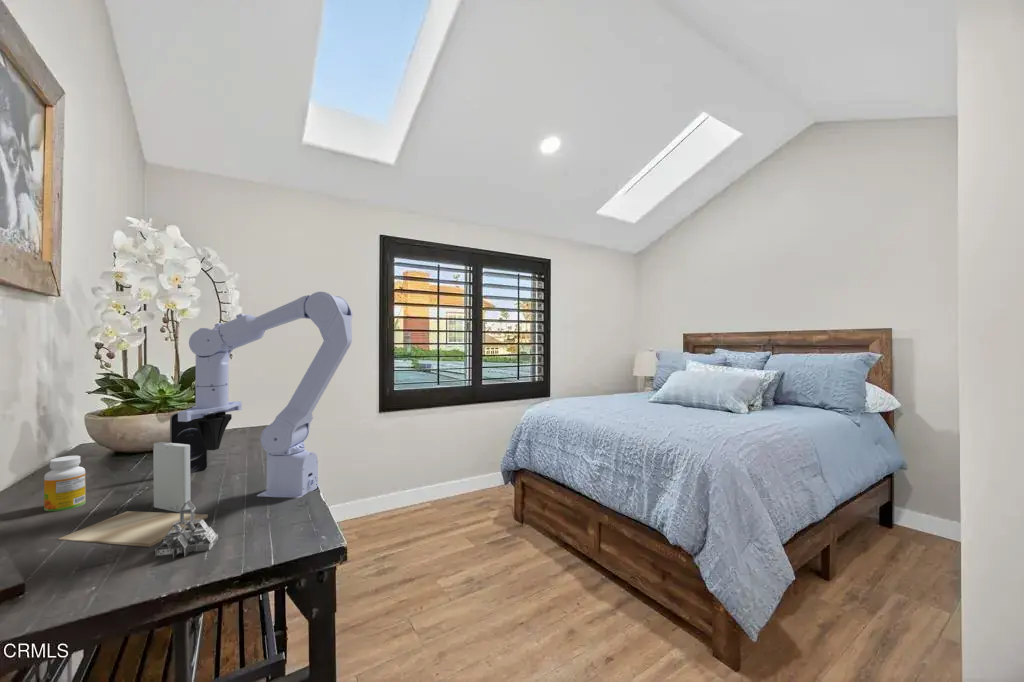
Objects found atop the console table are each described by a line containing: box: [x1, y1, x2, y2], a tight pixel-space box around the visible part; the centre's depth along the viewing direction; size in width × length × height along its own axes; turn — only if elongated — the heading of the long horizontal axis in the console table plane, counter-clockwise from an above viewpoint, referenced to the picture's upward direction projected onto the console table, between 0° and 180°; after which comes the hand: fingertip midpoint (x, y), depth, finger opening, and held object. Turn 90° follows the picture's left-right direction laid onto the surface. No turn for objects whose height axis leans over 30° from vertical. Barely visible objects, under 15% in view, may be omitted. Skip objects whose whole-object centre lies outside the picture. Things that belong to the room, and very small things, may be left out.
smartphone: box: [169, 412, 208, 474], centre depth 101 cm, size 8×1×15 cm, turn 148°
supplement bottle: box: [43, 455, 86, 512], centre depth 80 cm, size 5×5×10 cm
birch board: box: [58, 510, 209, 548], centre depth 71 cm, size 16×11×1 cm
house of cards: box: [154, 499, 219, 559], centre depth 63 cm, size 9×9×8 cm
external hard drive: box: [152, 441, 191, 513], centre depth 80 cm, size 2×8×12 cm, turn 72°
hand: (212, 449), depth 90 cm, fingers closed
